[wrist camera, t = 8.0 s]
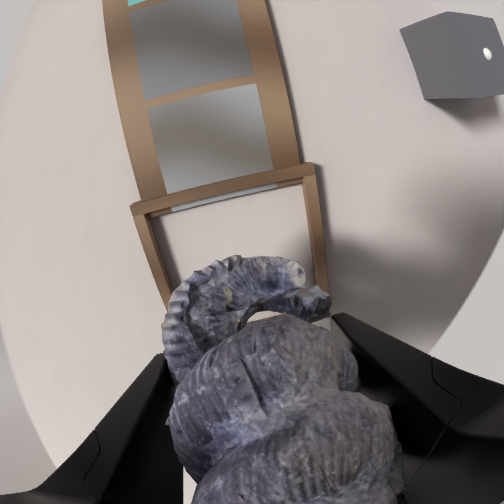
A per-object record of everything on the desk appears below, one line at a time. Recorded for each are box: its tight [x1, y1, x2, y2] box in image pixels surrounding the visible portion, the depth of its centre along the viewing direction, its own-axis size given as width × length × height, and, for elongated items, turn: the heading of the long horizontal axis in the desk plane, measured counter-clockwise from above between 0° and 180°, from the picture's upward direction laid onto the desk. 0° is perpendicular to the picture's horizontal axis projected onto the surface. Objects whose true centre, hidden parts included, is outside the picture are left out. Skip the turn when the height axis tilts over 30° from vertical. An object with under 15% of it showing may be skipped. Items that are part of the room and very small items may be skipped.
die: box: [400, 12, 504, 99], centre depth 9 cm, size 4×4×4 cm
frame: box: [130, 162, 330, 327], centre depth 14 cm, size 8×8×1 cm
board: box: [102, 0, 303, 219], centre depth 10 cm, size 15×7×1 cm, turn 11°
